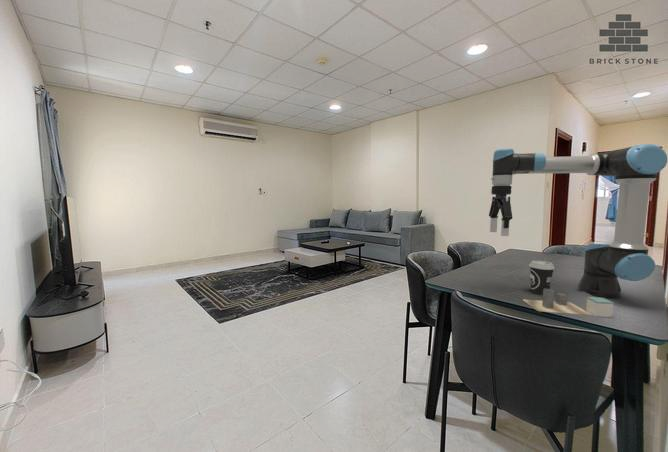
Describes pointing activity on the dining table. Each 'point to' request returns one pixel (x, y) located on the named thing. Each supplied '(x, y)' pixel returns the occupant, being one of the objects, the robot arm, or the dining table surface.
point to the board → (556, 307)
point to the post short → (561, 299)
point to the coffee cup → (540, 276)
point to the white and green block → (599, 306)
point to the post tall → (548, 298)
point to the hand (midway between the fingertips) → (498, 234)
